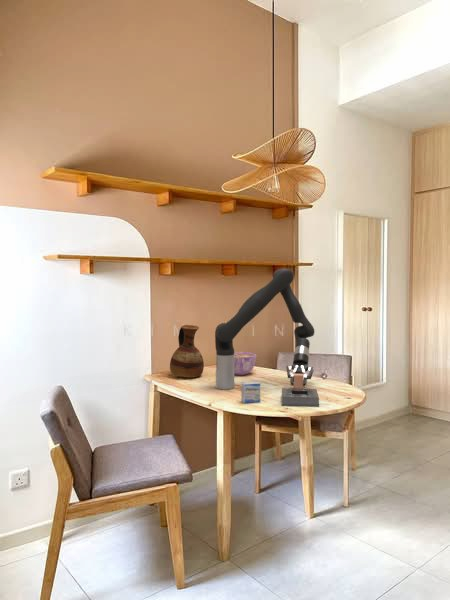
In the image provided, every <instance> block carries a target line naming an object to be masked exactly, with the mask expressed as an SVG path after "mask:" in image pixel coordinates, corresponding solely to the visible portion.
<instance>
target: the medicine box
mask: <svg viewBox="0 0 450 600" xmlns="http://www.w3.org/2000/svg"><path fill="white" fill-rule="evenodd" d="M240 384H241V385H240V387H241V390H240V394H241V399H240V400H241V402H242V403H244V404H256V403H261V383H260V382H259V381H251V382H250V381H249V382H241V383H240Z"/></svg>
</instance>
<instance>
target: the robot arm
mask: <svg viewBox="0 0 450 600" xmlns="http://www.w3.org/2000/svg"><path fill="white" fill-rule="evenodd" d="M293 281H294V272H293V271H292V270H291V269H290V268H278V269H276V270H275V271H273V274H272V279H271V280H270V282H269V283H267V284H266V285H265V286H263V287H261V288H260V289H258V290H256V291H255V292H254V293H253V294H252V295H250V297H248V298H247V299H246V300H245V301H244V303H242V305H241V307H240V308H239V309H238V311H237V313H236V314H235V315H234V316H232V318H230V320H228V321H227V322H226V323H225V322H222V323H219V324H218V325H217V326H216V328H215V331H214V339H215V340H214V342H215V351H216V354H215V355H216V356H215V357H216V360H215V362H216V369H215V388H216V389H219V390H231V389H234V388H235V375H234V352H235V349H234V342H233V340H234V339H235V338H236V336H237V335H238V334H240V333H239V332H241V330H242V329H243V328H244V327H245V326H246V325H247V324H248V323H250V322H251V321H252V320H253V319H254V318H255V317H256V316H257V315H259V313H261V312H262V311H263V310H264V309H265V308H266V307H267V306H268V304H270V303H271V301H273V300H274V298H275V297H276V296H278V294H280V295H281V297H282V298H283V301H284V303H285V305H286V307H287V309H288V312H289V315H290V317H291V320H292V322H293V323H295V324H301V325H299V326H296V327H295V328H294V332H293V333H294V338H295V348H294V349H295V350H294V352H293V353H294V354H293V361H292V364H291V365H290V366H289V365H286V368H285V369H286V374H287V378H288V379H290V381H289V383H290V385H291V386H292V387H294V374H303V387H305V386H307V382H308V380H312V376H313V374H314V371H315V370H314V367H313V366H311V367H310V366H309V358H310V347H311V346H310V344H311V343H310V340H309V339H308V338H311V337H313V336H314V335H315V329H314V326H313V324H312V323H311V322H310V320H309V319H308V318H307V316H306V315H305V312H304V310H303V308H302V304H301V303H300V301H299V300H298V298H297V297H296V295H295V294H294V291H293V289H292V287H291V284H292V283H293ZM291 370H292V372H291V373H290V371H291ZM307 371H309V372H308V375H307Z"/></svg>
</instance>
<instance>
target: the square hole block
mask: <svg viewBox="0 0 450 600" xmlns="http://www.w3.org/2000/svg"><path fill="white" fill-rule="evenodd" d="M319 405H320V397H319V393H318V390H317V388H303V389H301V388H294V387H291V388H290V387H281V406H283V407H284V406H286V407H289V406H290V407H292V406H293V407H317V408H319V407H320V406H319Z"/></svg>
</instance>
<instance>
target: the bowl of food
mask: <svg viewBox="0 0 450 600" xmlns="http://www.w3.org/2000/svg"><path fill="white" fill-rule="evenodd" d="M256 359H257V354H256V353H254V352H247V351H234V376H244V375H245V376H246V375H247V374H249V373H250V372H252V371H253V369H254V367H255V363H256Z"/></svg>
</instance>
